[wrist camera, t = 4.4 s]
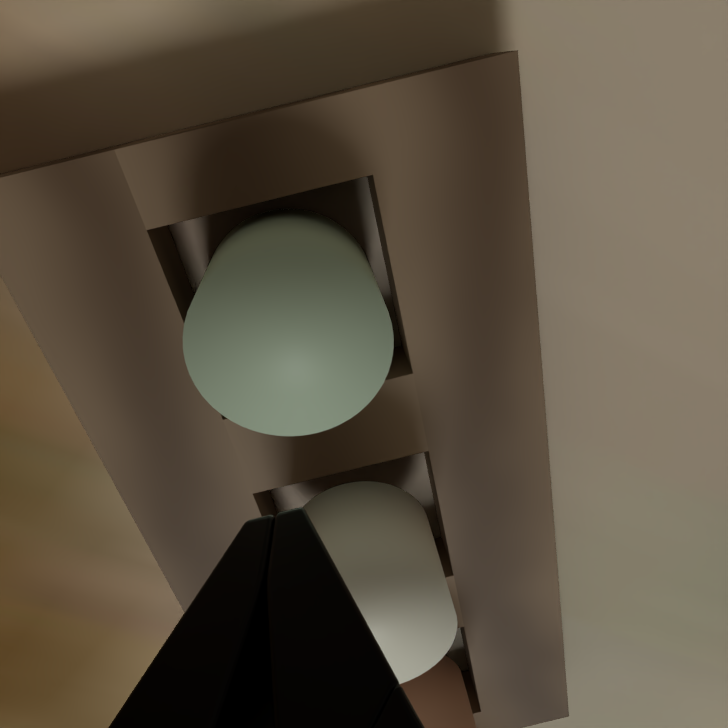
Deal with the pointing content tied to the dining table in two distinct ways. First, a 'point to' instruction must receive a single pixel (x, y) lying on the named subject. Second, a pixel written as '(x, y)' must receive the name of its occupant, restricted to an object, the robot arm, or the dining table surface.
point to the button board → (409, 362)
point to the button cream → (389, 570)
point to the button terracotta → (440, 697)
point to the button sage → (288, 326)
